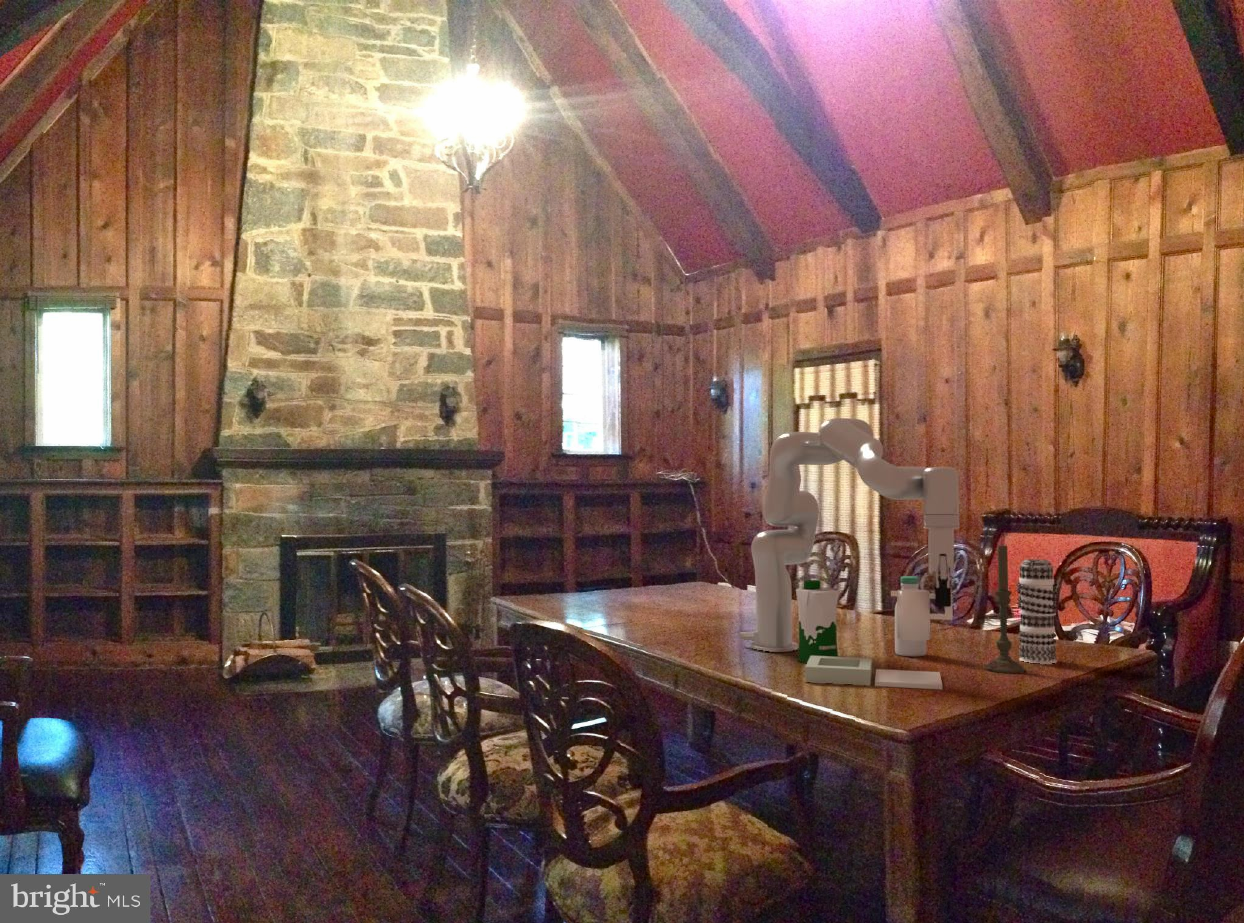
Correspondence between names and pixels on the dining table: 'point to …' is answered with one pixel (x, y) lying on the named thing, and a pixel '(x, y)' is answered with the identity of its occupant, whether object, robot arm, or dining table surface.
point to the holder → (839, 670)
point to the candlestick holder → (1003, 620)
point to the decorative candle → (1037, 611)
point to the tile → (908, 679)
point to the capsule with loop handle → (916, 614)
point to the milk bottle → (900, 645)
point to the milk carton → (817, 621)
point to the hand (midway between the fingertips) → (942, 604)
